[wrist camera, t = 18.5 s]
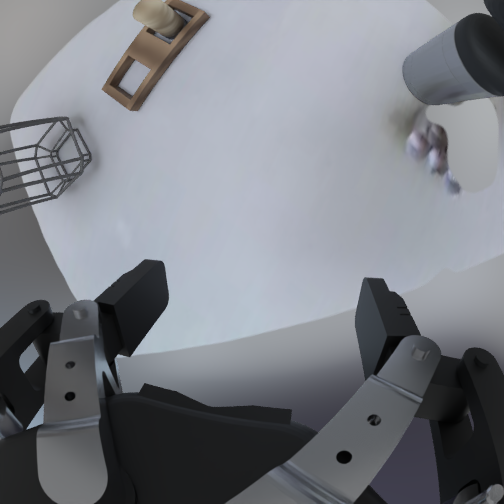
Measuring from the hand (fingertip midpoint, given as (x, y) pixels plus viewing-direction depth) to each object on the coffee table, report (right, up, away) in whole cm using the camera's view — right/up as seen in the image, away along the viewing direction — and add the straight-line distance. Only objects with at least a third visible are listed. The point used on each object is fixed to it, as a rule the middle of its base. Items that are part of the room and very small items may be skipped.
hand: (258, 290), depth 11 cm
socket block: (-16, +34, +25) cm, 45 cm away
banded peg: (-13, +38, +23) cm, 46 cm away
